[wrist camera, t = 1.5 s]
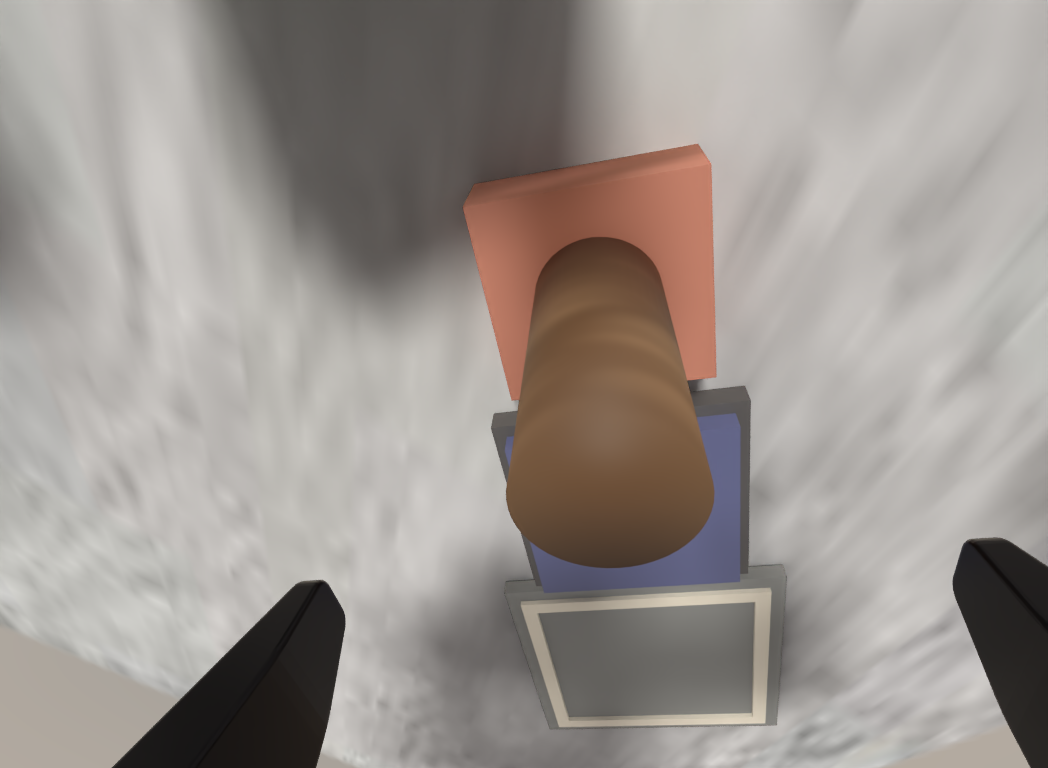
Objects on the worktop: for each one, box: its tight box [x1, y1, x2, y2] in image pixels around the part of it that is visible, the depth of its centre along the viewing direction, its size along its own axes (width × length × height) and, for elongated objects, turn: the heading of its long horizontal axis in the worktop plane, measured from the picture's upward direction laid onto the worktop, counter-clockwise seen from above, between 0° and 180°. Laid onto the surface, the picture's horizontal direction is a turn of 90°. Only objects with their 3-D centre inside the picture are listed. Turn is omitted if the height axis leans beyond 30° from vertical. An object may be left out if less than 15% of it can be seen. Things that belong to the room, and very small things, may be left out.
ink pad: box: [491, 386, 751, 593], centre depth 22 cm, size 8×8×2 cm
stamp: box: [463, 144, 716, 568], centre depth 14 cm, size 6×6×10 cm
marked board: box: [505, 565, 787, 729], centre depth 28 cm, size 11×11×1 cm
